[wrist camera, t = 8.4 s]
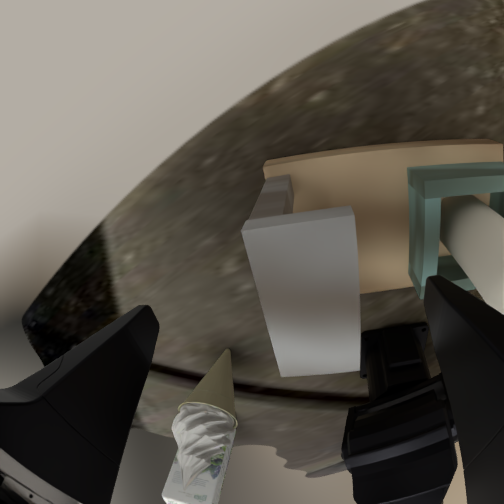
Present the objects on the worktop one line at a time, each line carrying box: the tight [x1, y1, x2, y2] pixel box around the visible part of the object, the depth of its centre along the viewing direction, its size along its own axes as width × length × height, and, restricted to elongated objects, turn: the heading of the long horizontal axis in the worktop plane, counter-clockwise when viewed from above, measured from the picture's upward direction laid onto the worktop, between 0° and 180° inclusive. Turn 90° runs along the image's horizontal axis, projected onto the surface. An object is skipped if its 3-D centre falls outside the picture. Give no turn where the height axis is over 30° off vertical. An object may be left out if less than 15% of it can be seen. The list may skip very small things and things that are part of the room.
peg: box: [440, 195, 504, 315], centre depth 13 cm, size 4×4×8 cm
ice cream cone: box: [171, 349, 238, 491], centre depth 22 cm, size 5×5×15 cm
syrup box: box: [162, 428, 236, 504], centre depth 30 cm, size 6×6×14 cm
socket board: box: [241, 139, 504, 377], centre depth 15 cm, size 10×16×10 cm, turn 103°
